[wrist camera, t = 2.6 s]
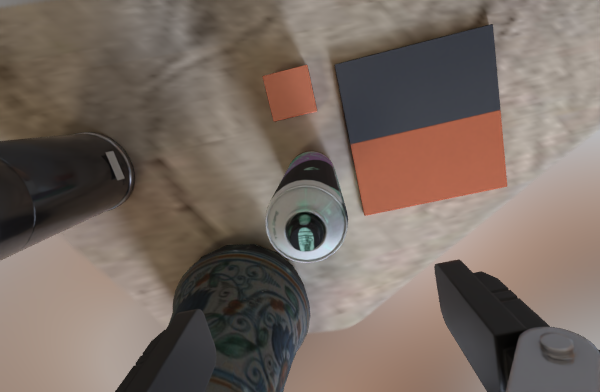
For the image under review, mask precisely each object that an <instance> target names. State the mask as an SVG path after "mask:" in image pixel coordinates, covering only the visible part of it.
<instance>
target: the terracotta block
mask: <svg viewBox="0 0 600 392" xmlns="http://www.w3.org/2000/svg"><path fill="white" fill-rule="evenodd" d="M263 81H264V85H265V89H266V93H267V97H268V101H269V105H270V109H271V113H272V117H273V121H274V122H275V121H279V120H284V119H288V118H292V117H296V116H300V115H304V114H308V113H312V112H316V111H317V107H316V103H315V98H314V94H313V89H312V84H311V80H310V75H309V71H308V66H307V65H303V66H299V67H295V68H292V69H288V70H284V71H280V72H276V73H272V74H269V75H265V76H263Z"/></svg>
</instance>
